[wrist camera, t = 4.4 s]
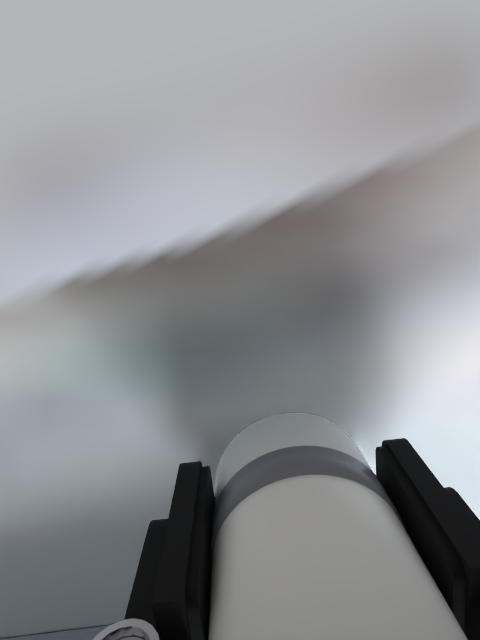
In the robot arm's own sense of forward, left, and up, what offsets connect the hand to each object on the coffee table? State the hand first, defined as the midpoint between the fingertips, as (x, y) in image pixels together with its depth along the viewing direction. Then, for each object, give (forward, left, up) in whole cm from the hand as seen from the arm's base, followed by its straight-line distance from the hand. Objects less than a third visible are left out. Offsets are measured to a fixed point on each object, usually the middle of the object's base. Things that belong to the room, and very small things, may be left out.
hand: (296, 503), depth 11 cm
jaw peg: (0, 0, -1) cm, 1 cm away
